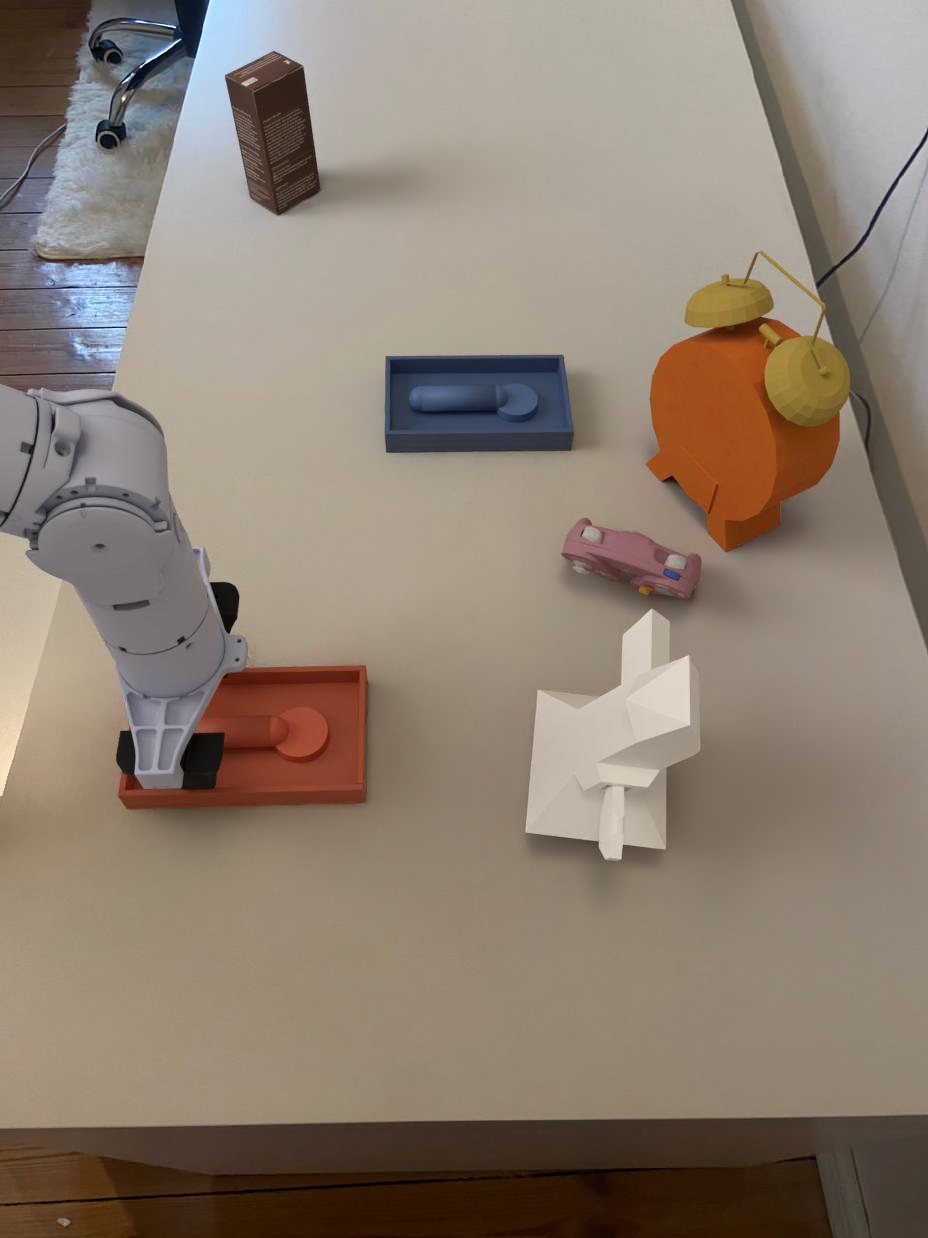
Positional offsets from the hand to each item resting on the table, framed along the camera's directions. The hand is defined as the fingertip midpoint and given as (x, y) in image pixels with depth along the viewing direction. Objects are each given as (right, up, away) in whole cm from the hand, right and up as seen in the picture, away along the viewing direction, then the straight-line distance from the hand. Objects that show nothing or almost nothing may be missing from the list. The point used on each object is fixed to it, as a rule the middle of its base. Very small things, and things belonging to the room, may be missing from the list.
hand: (205, 727), depth 60 cm
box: (-1, +48, +34) cm, 60 cm away
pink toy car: (+28, +10, +10) cm, 31 cm away
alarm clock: (+36, +17, +15) cm, 42 cm away
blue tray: (+17, +24, +19) cm, 35 cm away
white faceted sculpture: (+24, -4, +1) cm, 25 cm away
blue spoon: (+17, +24, +18) cm, 35 cm away
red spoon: (+3, -1, +2) cm, 3 cm away
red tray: (+2, -1, +2) cm, 3 cm away
